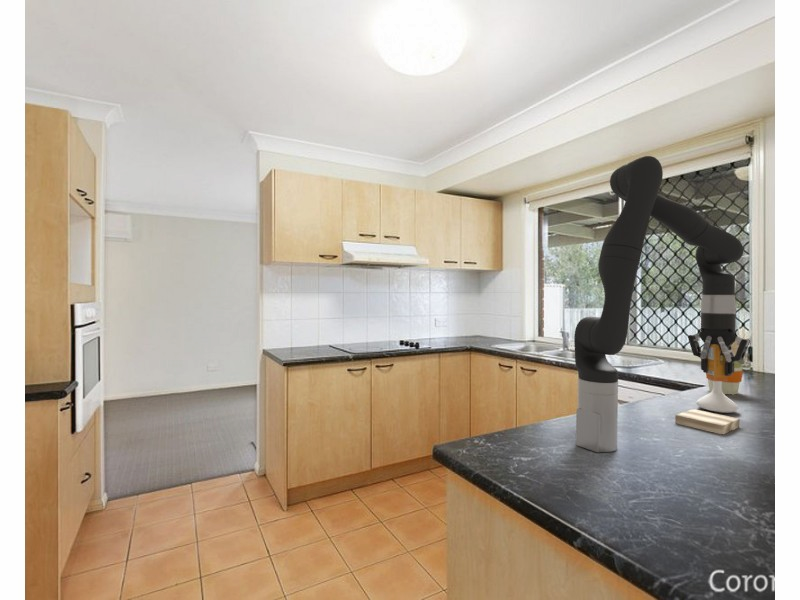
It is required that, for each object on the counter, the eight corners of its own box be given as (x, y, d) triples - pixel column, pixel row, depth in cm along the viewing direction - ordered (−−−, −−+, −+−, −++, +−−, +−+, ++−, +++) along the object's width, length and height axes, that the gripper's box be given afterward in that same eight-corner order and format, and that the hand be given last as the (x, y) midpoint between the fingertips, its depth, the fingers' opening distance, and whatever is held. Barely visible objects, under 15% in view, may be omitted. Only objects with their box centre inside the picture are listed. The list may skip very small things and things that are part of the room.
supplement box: (719, 379, 114) (719, 343, 113) (727, 381, 110) (728, 344, 110) (706, 378, 114) (706, 343, 114) (714, 381, 111) (714, 344, 110)
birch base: (722, 434, 115) (722, 425, 115) (675, 423, 125) (675, 414, 125) (739, 427, 121) (739, 418, 121) (693, 416, 131) (693, 408, 131)
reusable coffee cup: (749, 393, 162) (750, 355, 162) (735, 397, 156) (735, 358, 156) (712, 387, 173) (713, 351, 173) (697, 390, 167) (698, 354, 167)
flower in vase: (692, 410, 139) (693, 336, 138) (700, 404, 146) (701, 334, 146) (741, 419, 129) (743, 339, 129) (747, 412, 137) (749, 337, 136)
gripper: (682, 311, 116) (681, 371, 116) (745, 313, 104) (744, 380, 104) (694, 310, 120) (693, 368, 120) (756, 312, 108) (755, 377, 108)
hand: (717, 373), depth 112 cm, fingers closed on supplement box, 4 cm apart
